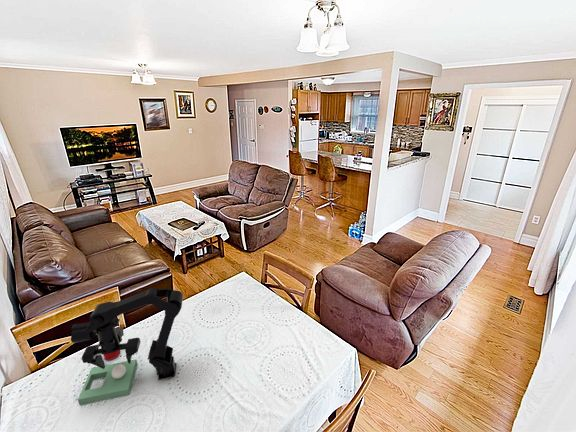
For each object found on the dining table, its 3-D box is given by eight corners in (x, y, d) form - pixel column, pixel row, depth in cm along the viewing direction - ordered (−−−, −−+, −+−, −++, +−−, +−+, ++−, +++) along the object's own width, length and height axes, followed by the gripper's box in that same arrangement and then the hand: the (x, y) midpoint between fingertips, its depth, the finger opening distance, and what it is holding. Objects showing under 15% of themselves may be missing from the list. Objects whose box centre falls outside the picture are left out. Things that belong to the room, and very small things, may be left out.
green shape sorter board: (137, 364, 122) (136, 359, 121) (129, 394, 110) (127, 389, 109) (93, 373, 118) (91, 367, 117) (79, 405, 106) (77, 399, 105)
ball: (128, 369, 117) (125, 360, 115) (125, 379, 112) (122, 370, 110) (115, 371, 116) (112, 362, 114) (111, 382, 111) (108, 373, 109)
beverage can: (113, 362, 123) (106, 341, 119) (101, 359, 124) (94, 339, 120) (123, 350, 129) (117, 330, 124) (112, 348, 130) (105, 328, 126)
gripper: (139, 316, 115) (146, 344, 121) (87, 324, 111) (98, 353, 117) (132, 336, 105) (141, 366, 111) (75, 346, 101) (87, 377, 107)
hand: (117, 365), depth 112 cm, fingers open, 9 cm apart
